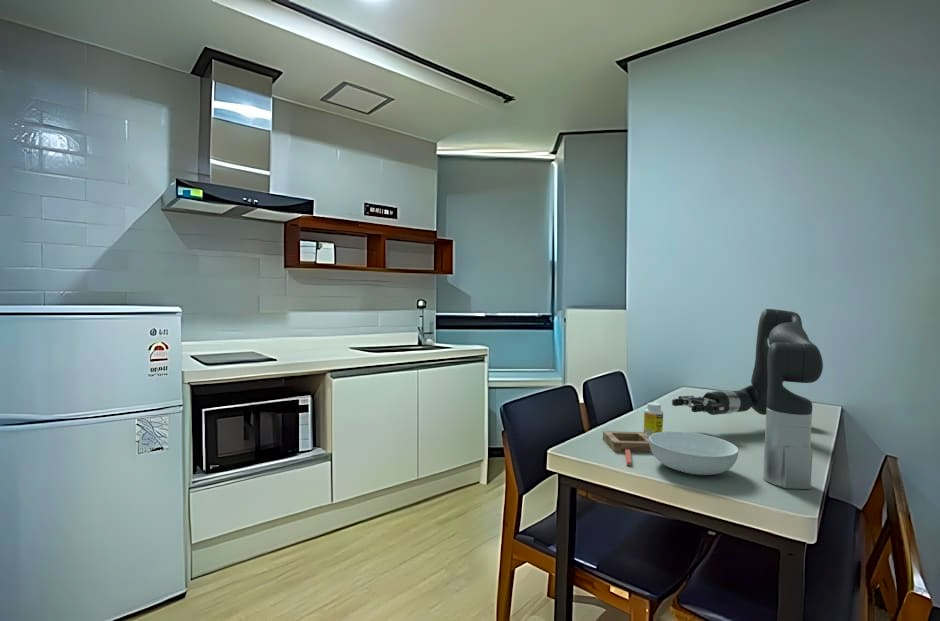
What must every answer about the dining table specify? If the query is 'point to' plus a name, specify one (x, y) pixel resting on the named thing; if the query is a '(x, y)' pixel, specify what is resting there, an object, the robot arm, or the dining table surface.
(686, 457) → the serving bowl
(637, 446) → the brown wooden square frame
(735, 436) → the dining table surface
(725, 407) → the robot arm
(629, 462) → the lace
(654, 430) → the supplement bottle
